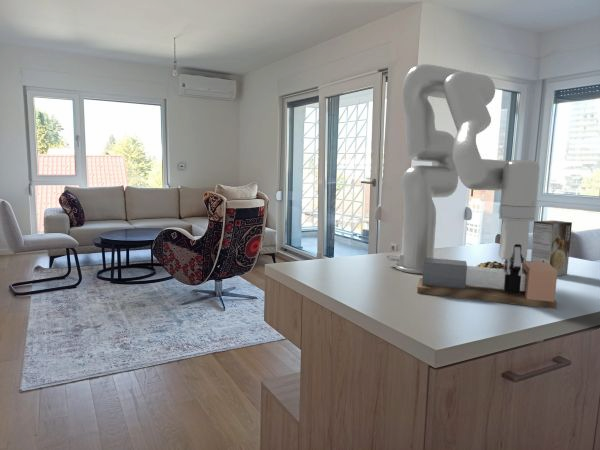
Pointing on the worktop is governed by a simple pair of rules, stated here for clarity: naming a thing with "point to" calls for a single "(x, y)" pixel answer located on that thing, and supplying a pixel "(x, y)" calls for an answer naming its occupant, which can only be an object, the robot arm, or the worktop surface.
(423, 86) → the robot arm
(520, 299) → the base board
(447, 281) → the sleeve
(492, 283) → the light grey bar
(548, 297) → the socket block
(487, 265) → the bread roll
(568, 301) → the worktop surface
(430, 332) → the worktop surface
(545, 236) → the coffee box
